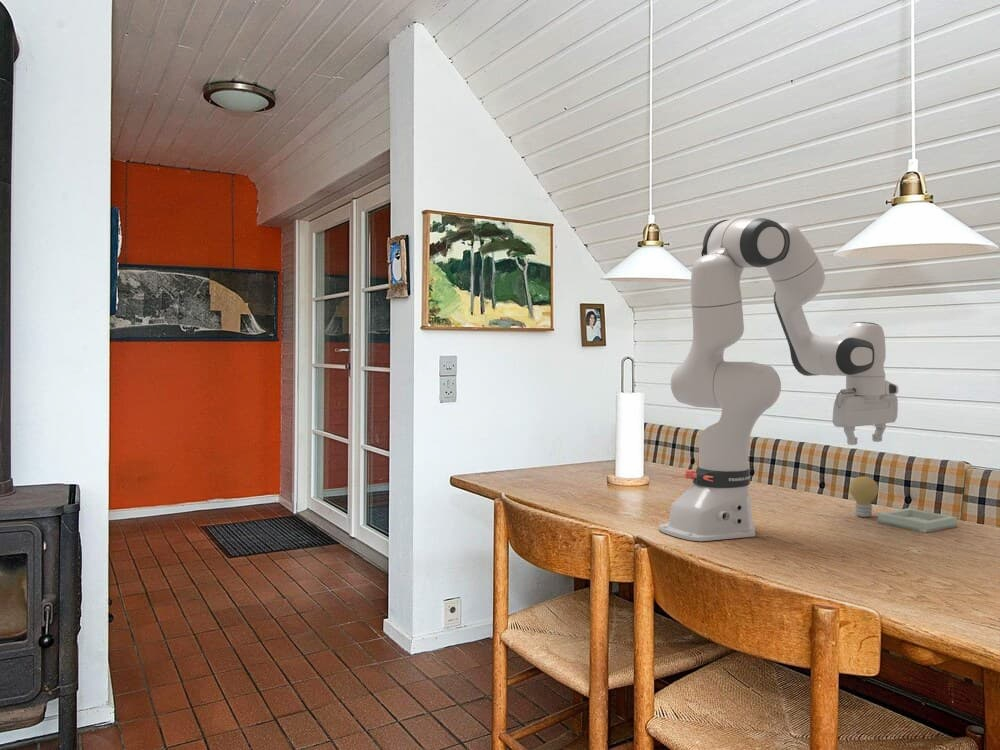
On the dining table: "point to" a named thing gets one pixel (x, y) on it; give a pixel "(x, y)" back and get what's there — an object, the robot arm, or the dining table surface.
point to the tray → (917, 520)
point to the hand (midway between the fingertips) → (864, 443)
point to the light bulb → (863, 495)
